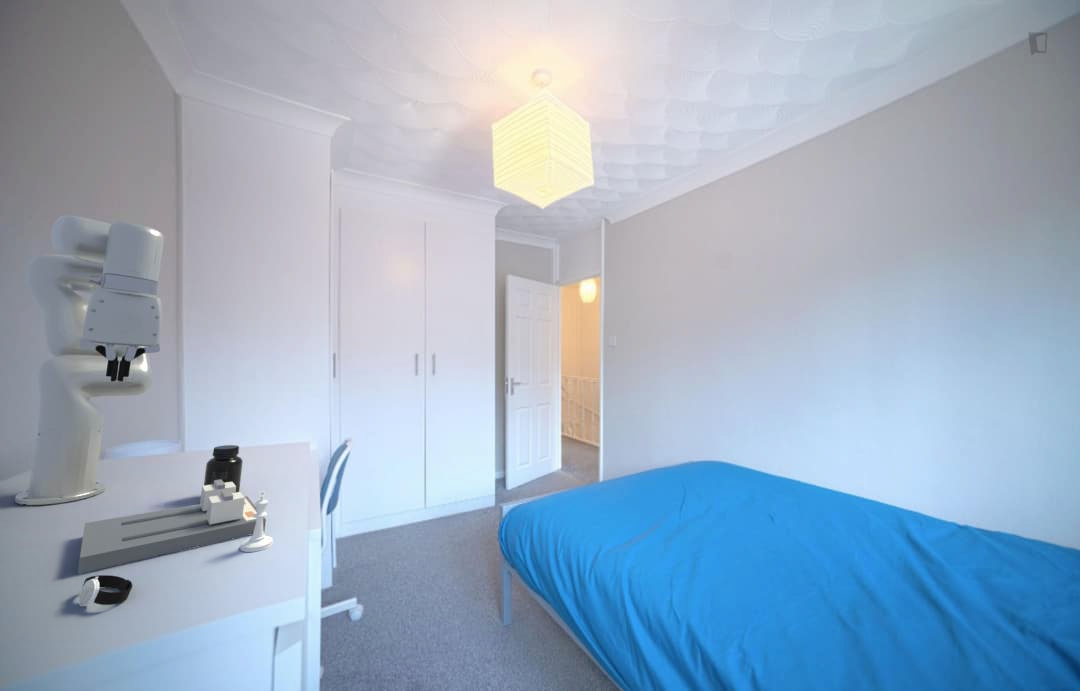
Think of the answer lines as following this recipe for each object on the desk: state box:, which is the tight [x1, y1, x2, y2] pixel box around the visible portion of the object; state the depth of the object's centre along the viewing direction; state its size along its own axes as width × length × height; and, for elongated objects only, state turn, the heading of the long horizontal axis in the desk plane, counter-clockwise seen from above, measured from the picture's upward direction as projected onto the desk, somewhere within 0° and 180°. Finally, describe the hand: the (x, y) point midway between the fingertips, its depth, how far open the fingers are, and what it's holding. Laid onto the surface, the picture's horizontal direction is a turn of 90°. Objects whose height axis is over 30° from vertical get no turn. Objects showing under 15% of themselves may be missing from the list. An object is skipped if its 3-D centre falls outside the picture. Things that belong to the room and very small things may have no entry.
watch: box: [78, 574, 133, 607], centre depth 54 cm, size 8×5×4 cm, turn 67°
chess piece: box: [239, 490, 274, 553], centre depth 72 cm, size 5×5×10 cm
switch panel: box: [77, 495, 267, 575], centre depth 73 cm, size 16×24×3 cm, turn 138°
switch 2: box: [206, 490, 245, 525], centre depth 75 cm, size 4×5×5 cm
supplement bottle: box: [203, 444, 243, 493], centre depth 92 cm, size 7×7×12 cm
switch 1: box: [199, 479, 236, 511], centre depth 81 cm, size 4×5×5 cm
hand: (116, 380), depth 74 cm, fingers closed
